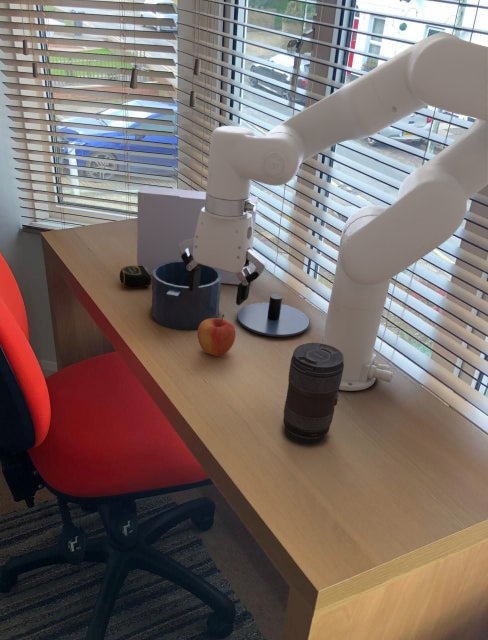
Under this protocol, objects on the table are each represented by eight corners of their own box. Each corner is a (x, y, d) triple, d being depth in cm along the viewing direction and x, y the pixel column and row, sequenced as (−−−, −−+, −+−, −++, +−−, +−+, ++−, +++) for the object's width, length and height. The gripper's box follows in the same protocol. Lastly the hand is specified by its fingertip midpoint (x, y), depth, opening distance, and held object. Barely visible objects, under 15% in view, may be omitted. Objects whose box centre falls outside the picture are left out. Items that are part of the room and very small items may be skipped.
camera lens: (295, 412, 112) (309, 336, 104) (337, 432, 108) (355, 353, 100) (270, 433, 107) (282, 353, 99) (313, 454, 103) (329, 373, 94)
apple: (188, 353, 128) (190, 316, 123) (211, 340, 132) (214, 304, 128) (218, 366, 124) (221, 329, 119) (240, 353, 129) (244, 317, 124)
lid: (313, 314, 145) (317, 288, 142) (302, 344, 133) (306, 318, 130) (246, 302, 149) (249, 277, 145) (229, 331, 136) (232, 304, 133)
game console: (247, 286, 156) (256, 204, 145) (136, 274, 159) (137, 192, 148) (249, 277, 161) (258, 196, 150) (141, 265, 163) (142, 185, 152)
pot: (227, 302, 148) (231, 262, 143) (203, 340, 132) (206, 297, 127) (168, 291, 151) (169, 252, 146) (137, 327, 135) (137, 285, 130)
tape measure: (152, 289, 152) (152, 274, 150) (123, 292, 150) (123, 276, 148) (144, 278, 157) (144, 263, 155) (116, 280, 155) (116, 265, 153)
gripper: (281, 209, 112) (267, 300, 121) (192, 189, 118) (185, 277, 127) (265, 221, 106) (251, 315, 116) (172, 199, 112) (166, 290, 122)
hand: (217, 295), depth 121 cm, fingers open, 9 cm apart
